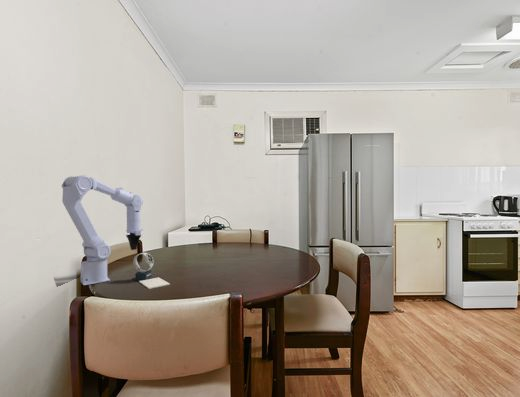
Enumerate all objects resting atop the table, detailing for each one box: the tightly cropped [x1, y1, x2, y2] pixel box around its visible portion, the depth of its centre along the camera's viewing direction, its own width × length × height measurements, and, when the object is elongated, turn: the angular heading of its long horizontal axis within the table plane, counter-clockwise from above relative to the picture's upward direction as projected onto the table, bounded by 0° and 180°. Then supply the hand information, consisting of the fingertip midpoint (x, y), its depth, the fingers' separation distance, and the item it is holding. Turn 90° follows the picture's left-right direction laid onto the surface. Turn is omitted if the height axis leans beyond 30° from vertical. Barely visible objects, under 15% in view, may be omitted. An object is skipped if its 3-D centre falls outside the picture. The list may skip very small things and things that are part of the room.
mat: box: [138, 276, 171, 290], centre depth 111 cm, size 8×12×1 cm, turn 40°
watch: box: [133, 252, 155, 282], centre depth 117 cm, size 6×8×11 cm
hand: (133, 249), depth 130 cm, fingers closed
